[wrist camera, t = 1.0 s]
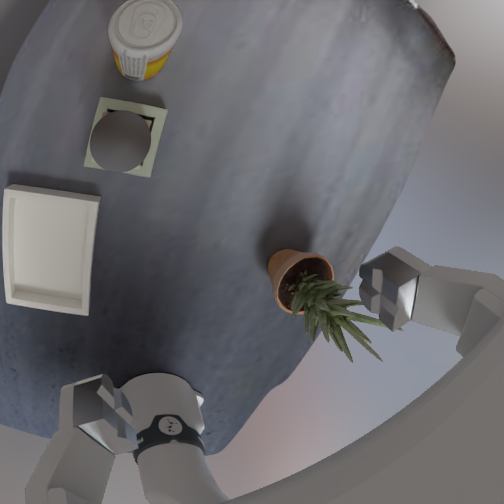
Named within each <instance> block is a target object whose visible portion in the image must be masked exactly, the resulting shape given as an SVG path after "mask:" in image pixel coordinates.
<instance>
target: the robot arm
mask: <svg viewBox="0 0 504 504" xmlns="http://www.w3.org/2000/svg"><path fill="white" fill-rule="evenodd" d="M359 276H360V277H361V278H362V279H363V280H362V282H361V284H360V287H359V295H360V298H361V301H362V303H363V304H364V306H365V307H366V308H367V309H368V310H369V311H370V312H372V313H376V314H379V320H380V321H381V322H382V323H383V324H384V325H386V326H387V327H388V328H389V329H390V330H391V331H394V330H396V329H398V328H400V327H401V326H403V325H404V324H405V323H407V322H409V321H410V320H412V321H413V322H416V323H419V324H422V325H426V326H429V327H432V328H435V329H438V330H441V331H444V332H448V333H451V334H454V335H457V336H460V339H459V341H458V344H457V346H456V351H457V352H458V353H460V354H461V355H462V356H463V358H462V359H461V360H460V361H459V362H458V363H457V364H456V365H455V366H454V367H453V368H452V369H451V370H450V371H448V372H447V373H446V374H445V375H444V376H443V377H442V378H441V379H440V380H438V381H437V382H436V383H435V384H433V385H432V386H431V387H430V388H429V389H427V390H426V391H425V392H424V393H423V394H421V395H420V396H419V397H418V398H416V399H415V400H414V401H412V402H411V403H410V404H409V405H407V406H406V407H405V408H403V409H402V410H401V411H399V412H398V413H396V414H395V415H394V416H392V417H391V418H390V419H388V420H387V421H385V422H384V423H382V424H381V425H379V426H378V427H376V428H375V429H373V430H372V431H370V432H369V433H367V434H366V435H364V436H362V437H361V438H359V439H358V440H356V441H354V442H353V443H351V444H349V445H348V446H346V447H344V448H343V449H341V450H339V451H337V452H336V453H334V454H332V455H330V456H328V457H327V458H325V459H323V460H321V461H319V462H317V463H315V464H313V465H311V466H309V467H307V468H306V469H303V470H301V471H299V472H297V473H295V474H293V475H291V476H289V477H287V478H284V479H282V480H280V481H277V482H275V483H273V484H270V485H268V486H266V487H263V488H261V489H258V490H256V491H253V492H250V493H248V494H245V495H242V496H239V497H237V498H234V499H231V500H230V499H229V498H228V497H227V496H226V495H225V494H224V493H223V492H222V491H221V490H220V488H219V487H218V485H217V483H216V482H215V479H214V477H213V476H212V473H211V471H210V469H209V467H208V464H207V462H206V459H205V449H204V444H203V441H202V439H201V437H200V434H201V433H202V431H203V429H204V423H203V419H202V415H201V411H200V406H201V405H202V403H203V401H204V398H203V395H202V394H200V393H198V392H196V391H194V390H193V389H192V388H191V386H190V385H189V384H188V383H187V382H186V381H185V380H183V379H182V378H180V377H178V376H175V375H171V374H166V373H150V374H144V375H141V376H138V377H135V378H133V379H131V380H130V381H128V382H127V383H126V384H125V385H123V386H122V387H121V388H119V389H117V388H114V387H113V381H112V380H111V379H110V377H109V376H108V375H107V374H101V375H98V376H95V377H91V378H88V379H85V380H81V381H78V382H76V383H73V384H69V385H65V386H63V387H62V389H61V392H60V407H59V431H57V432H55V433H54V434H53V436H52V438H51V440H50V442H49V444H48V445H47V447H46V449H45V451H44V453H43V455H42V456H41V458H40V460H39V462H38V464H37V466H36V468H35V470H34V472H33V474H32V476H31V477H30V480H29V482H28V483H27V485H26V488H25V502H26V504H101V503H102V500H103V496H104V492H105V489H106V486H107V482H108V479H109V476H110V472H111V469H112V466H113V463H114V460H115V456H114V455H117V454H121V453H125V452H128V451H132V453H133V457H134V459H135V462H136V463H137V465H138V467H139V472H140V476H141V482H142V486H143V490H144V494H145V497H146V499H147V500H148V501H149V503H150V504H504V280H503V279H501V278H500V277H498V276H497V275H495V274H490V273H483V272H477V271H470V270H463V269H457V268H450V267H443V266H437V265H435V266H433V267H432V266H430V265H428V264H427V263H425V262H424V261H422V260H420V259H419V258H417V257H415V256H414V255H412V254H411V253H409V252H407V251H406V250H404V249H402V248H401V247H394V248H392V249H390V250H388V251H386V252H385V253H383V254H381V255H379V256H377V257H375V258H373V259H371V260H370V261H368V262H366V263H364V264H362V265H361V267H360V269H359Z"/></svg>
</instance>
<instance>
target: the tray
mask: <svg viewBox="0 0 504 504" xmlns="http://www.w3.org/2000/svg"><path fill="white" fill-rule="evenodd" d="M100 200H101V196H94V195H88V194H81V193H74V192H68V191H61V190H54V189H47V188H40V187H32V186H25V185H17V184H12V185H10V186H8V187H6V188H5V189H4V199H3V223H2V248H3V271H4V285H5V295H6V303H9V304H14V305H20V306H25V307H31V308H37V309H43V310H50V311H56V312H63V313H70V314H77V315H85V316H88V315H89V308H90V293H91V277H92V264H93V253H94V244H95V235H96V227H97V220H98V213H99V206H100Z"/></svg>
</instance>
